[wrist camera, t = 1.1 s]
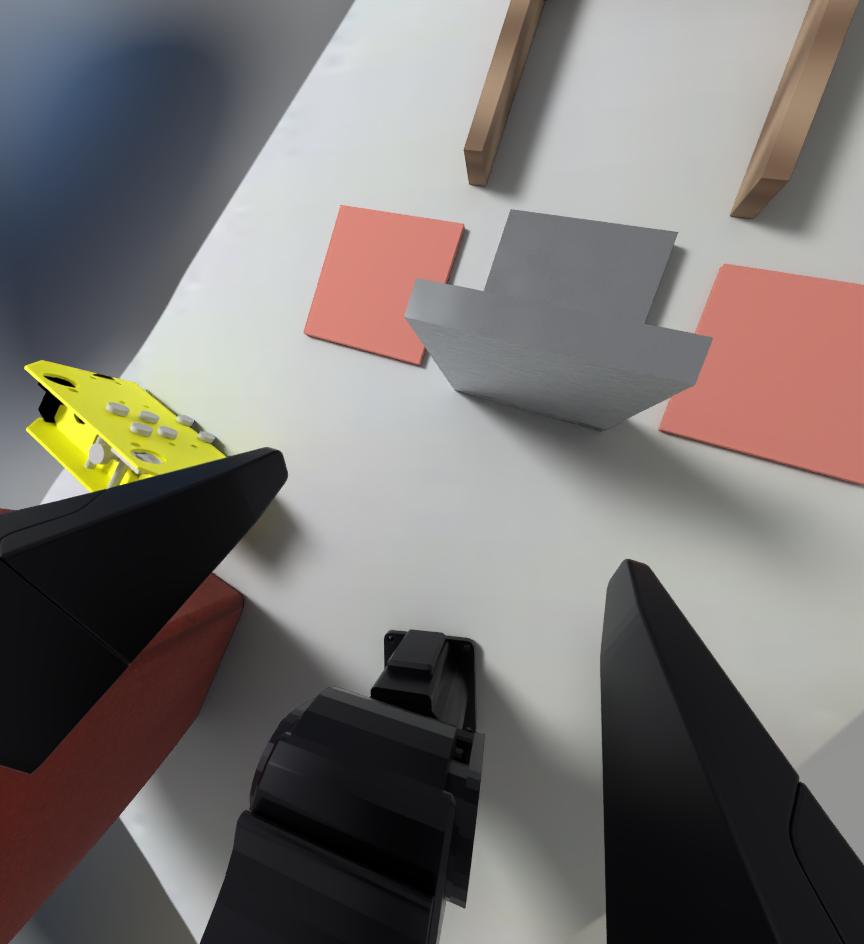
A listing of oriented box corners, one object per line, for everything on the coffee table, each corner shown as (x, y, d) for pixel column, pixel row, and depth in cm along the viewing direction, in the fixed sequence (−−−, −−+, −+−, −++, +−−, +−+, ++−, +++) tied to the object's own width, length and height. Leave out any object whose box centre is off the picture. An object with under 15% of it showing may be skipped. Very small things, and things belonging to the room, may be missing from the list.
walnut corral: (753, 218, 19) (788, 180, 16) (468, 183, 23) (463, 149, 20) (856, -52, 18) (911, -135, 15) (539, -37, 22) (543, -102, 19)
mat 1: (420, 365, 24) (418, 363, 23) (306, 334, 26) (303, 332, 25) (464, 228, 23) (463, 223, 22) (343, 209, 25) (340, 205, 25)
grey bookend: (601, 431, 21) (695, 384, 10) (454, 390, 23) (404, 316, 12) (670, 244, 20) (853, -26, 9) (510, 220, 22) (508, -16, 11)
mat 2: (859, 484, 17) (867, 484, 17) (658, 430, 20) (661, 429, 19) (937, 301, 17) (947, 297, 16) (720, 267, 19) (724, 263, 19)
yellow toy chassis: (267, 476, 27) (161, 477, 19) (235, 531, 28) (120, 555, 20) (147, 380, 30) (13, 346, 22) (121, 432, 31) (-17, 417, 23)
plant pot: (134, 477, 30) (-310, 480, 14) (294, 580, 26) (-77, 758, 10) (71, 651, 32) (-387, 834, 16) (210, 774, 28) (-220, 1199, 12)
